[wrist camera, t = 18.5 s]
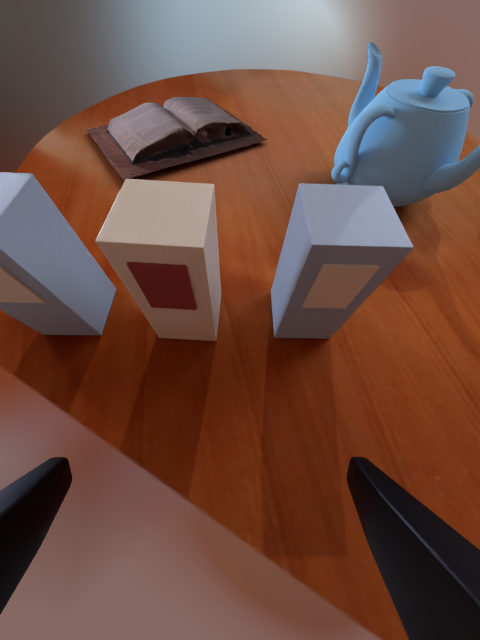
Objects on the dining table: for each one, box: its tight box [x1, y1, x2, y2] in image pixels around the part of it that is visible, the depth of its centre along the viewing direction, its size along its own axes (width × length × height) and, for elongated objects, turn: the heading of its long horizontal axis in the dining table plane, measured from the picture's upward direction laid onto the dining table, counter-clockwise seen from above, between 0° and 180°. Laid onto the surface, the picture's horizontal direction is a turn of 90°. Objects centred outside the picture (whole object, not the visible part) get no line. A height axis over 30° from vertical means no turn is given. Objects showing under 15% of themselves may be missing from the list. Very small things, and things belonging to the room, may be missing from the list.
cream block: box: [96, 179, 221, 341], centre depth 20 cm, size 6×6×13 cm
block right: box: [271, 183, 414, 339], centre depth 20 cm, size 6×6×13 cm
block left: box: [0, 173, 116, 335], centre depth 20 cm, size 6×6×13 cm
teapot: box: [332, 42, 480, 207], centre depth 32 cm, size 16×20×14 cm
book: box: [87, 97, 267, 180], centre depth 42 cm, size 20×28×4 cm
